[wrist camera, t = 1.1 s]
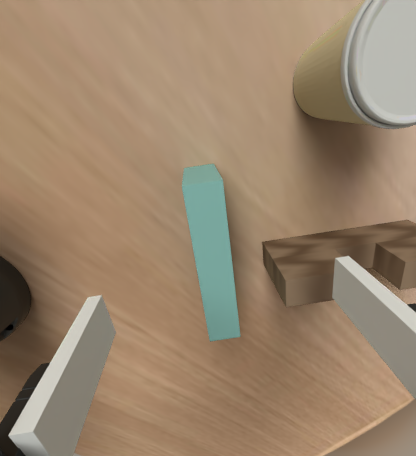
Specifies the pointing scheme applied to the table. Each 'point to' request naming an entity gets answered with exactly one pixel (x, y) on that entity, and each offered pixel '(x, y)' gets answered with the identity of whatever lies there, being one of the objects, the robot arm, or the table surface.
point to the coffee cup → (363, 67)
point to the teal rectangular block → (211, 249)
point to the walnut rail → (334, 248)
